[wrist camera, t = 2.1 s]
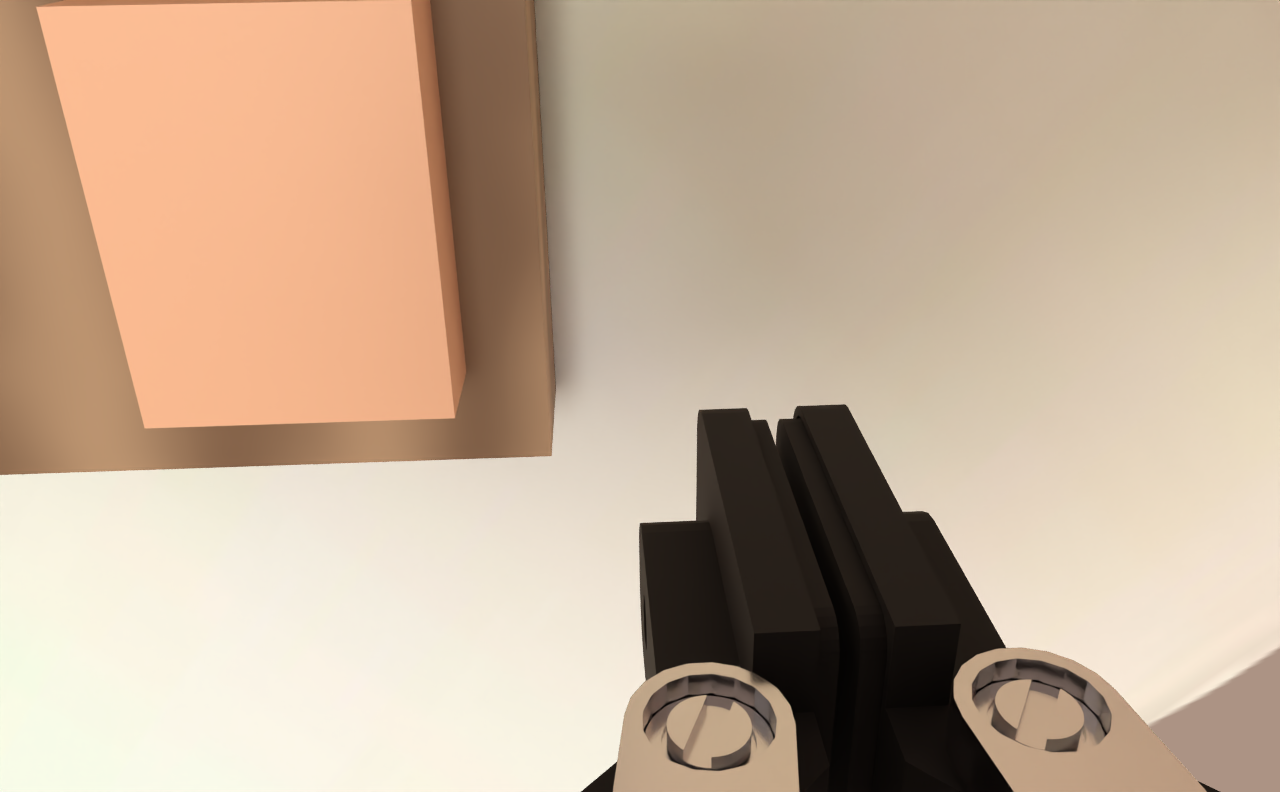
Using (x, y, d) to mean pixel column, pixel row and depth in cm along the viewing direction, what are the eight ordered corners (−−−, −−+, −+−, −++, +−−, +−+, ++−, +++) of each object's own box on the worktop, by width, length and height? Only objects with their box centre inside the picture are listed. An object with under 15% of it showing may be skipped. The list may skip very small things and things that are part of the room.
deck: (526, -144, 24) (515, -147, 21) (555, 388, 31) (551, 455, 27) (-169, -134, 24) (-301, -136, 20) (5, 406, 30) (-73, 477, 27)
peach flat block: (429, -13, 22) (410, -1, 20) (466, 372, 26) (454, 418, 24) (92, -7, 22) (36, 6, 19) (183, 380, 26) (144, 428, 24)
